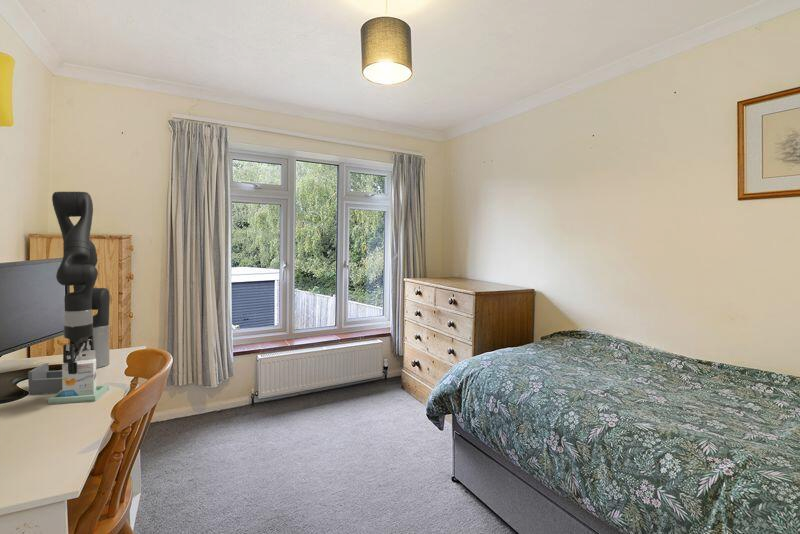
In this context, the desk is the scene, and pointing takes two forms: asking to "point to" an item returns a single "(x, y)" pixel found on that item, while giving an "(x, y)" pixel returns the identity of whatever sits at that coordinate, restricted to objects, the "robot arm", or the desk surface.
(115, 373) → the desk surface
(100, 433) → the desk surface
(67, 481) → the desk surface
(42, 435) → the desk surface
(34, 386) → the bay
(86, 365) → the ink box
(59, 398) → the tray
